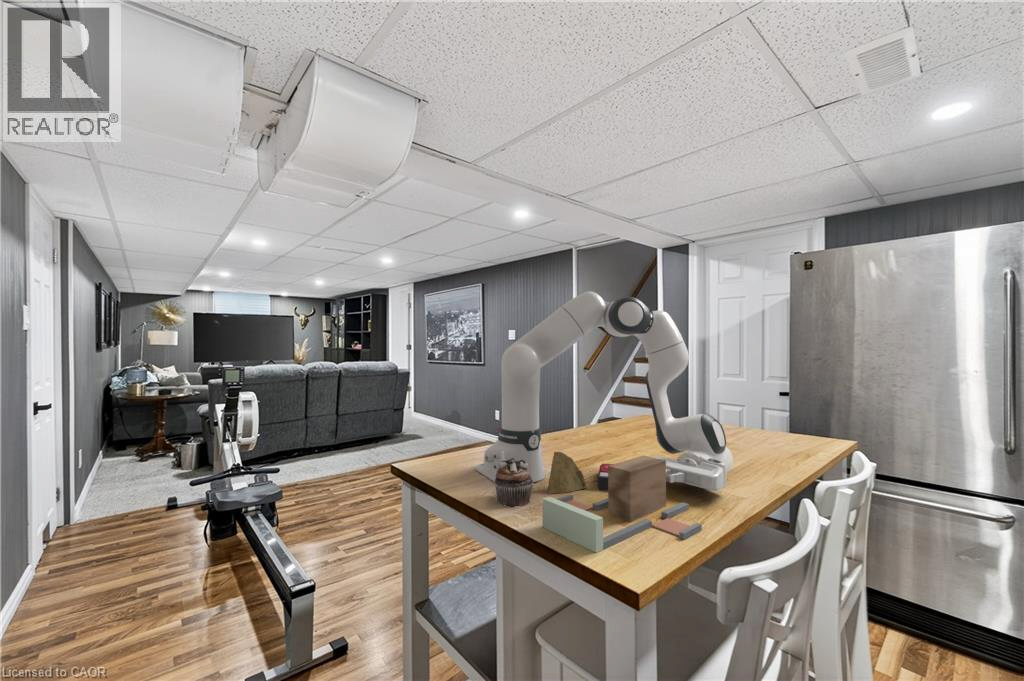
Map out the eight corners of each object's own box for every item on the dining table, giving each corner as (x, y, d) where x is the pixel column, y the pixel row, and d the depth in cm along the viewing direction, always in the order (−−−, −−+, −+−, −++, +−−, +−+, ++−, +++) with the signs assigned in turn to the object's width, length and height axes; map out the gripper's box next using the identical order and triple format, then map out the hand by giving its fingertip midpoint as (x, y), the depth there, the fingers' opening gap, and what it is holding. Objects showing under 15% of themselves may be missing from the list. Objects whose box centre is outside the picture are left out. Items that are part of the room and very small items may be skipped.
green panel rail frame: (519, 516, 96) (519, 489, 96) (612, 485, 117) (612, 463, 117) (630, 569, 73) (630, 534, 73) (721, 519, 94) (720, 492, 94)
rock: (589, 475, 119) (554, 467, 121) (591, 455, 113) (554, 448, 116) (583, 510, 110) (545, 501, 113) (585, 490, 105) (545, 482, 108)
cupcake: (486, 503, 104) (486, 462, 104) (508, 491, 112) (508, 453, 112) (519, 511, 99) (519, 468, 99) (540, 498, 107) (540, 458, 107)
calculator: (638, 464, 126) (640, 477, 111) (638, 479, 125) (640, 494, 111) (600, 462, 128) (597, 474, 114) (600, 476, 128) (597, 490, 114)
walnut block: (608, 514, 97) (608, 465, 97) (644, 499, 106) (643, 455, 106) (630, 522, 93) (630, 471, 93) (666, 507, 101) (665, 460, 102)
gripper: (659, 449, 124) (630, 457, 115) (732, 464, 108) (705, 475, 99) (659, 471, 124) (630, 480, 115) (732, 489, 108) (705, 502, 99)
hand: (665, 478), depth 107 cm, fingers closed
